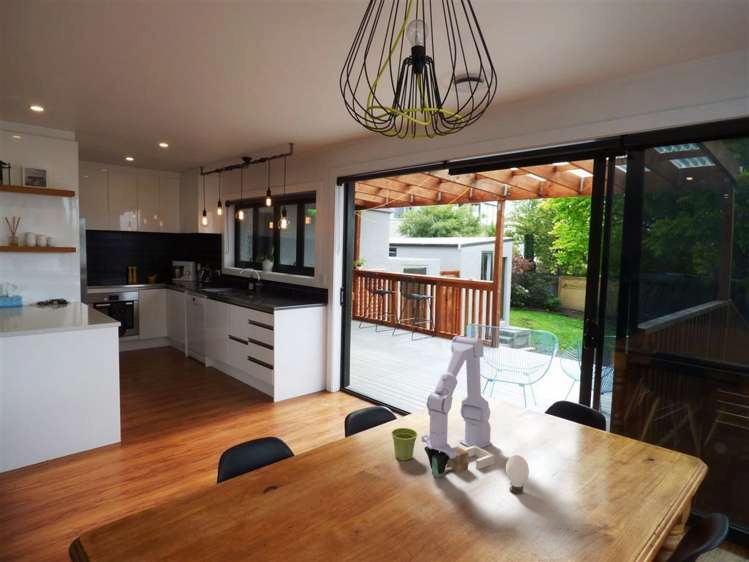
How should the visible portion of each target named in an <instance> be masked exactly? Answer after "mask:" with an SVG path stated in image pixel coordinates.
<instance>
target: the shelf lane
mask: <svg viewBox="0 0 749 562" xmlns="http://www.w3.org/2000/svg"><path fill="white" fill-rule="evenodd" d="M463 449H464V450H466V451H467V452H468V458H471V457H474V456H476V457H478V458H477V459H476V460H475V461H476V462H475V469H477V470H480V469H484V468H485V467H488V466H491V465H493V464H495V454H493V453H491V452H489V451H487V450H485V449H484V448H479V447H477V446H475V445H474V446H471V447H468V446H467V447H465V448H463Z"/></svg>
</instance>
